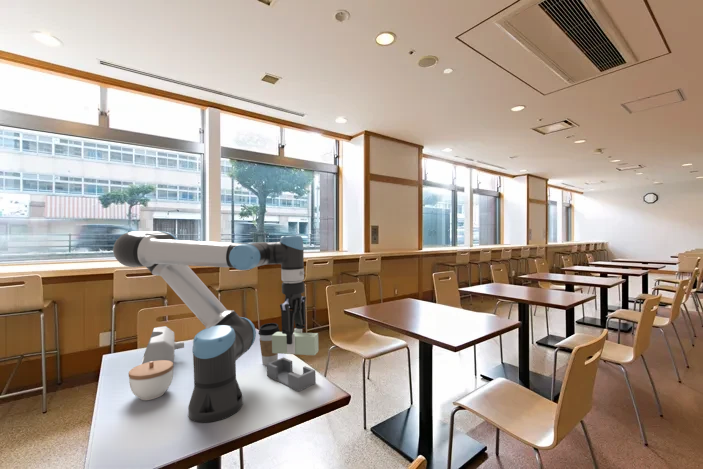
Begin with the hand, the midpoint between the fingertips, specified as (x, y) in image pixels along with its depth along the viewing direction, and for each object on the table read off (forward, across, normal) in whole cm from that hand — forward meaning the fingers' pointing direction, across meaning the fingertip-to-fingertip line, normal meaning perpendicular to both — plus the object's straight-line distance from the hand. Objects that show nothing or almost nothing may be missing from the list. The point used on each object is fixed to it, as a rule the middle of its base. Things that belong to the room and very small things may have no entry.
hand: (295, 350), depth 109 cm
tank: (+13, +4, +64) cm, 66 cm away
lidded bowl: (+13, -18, +44) cm, 49 cm away
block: (+1, 0, 0) cm, 1 cm away
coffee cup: (+13, +16, +21) cm, 29 cm away
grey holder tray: (+13, +5, +5) cm, 14 cm away
